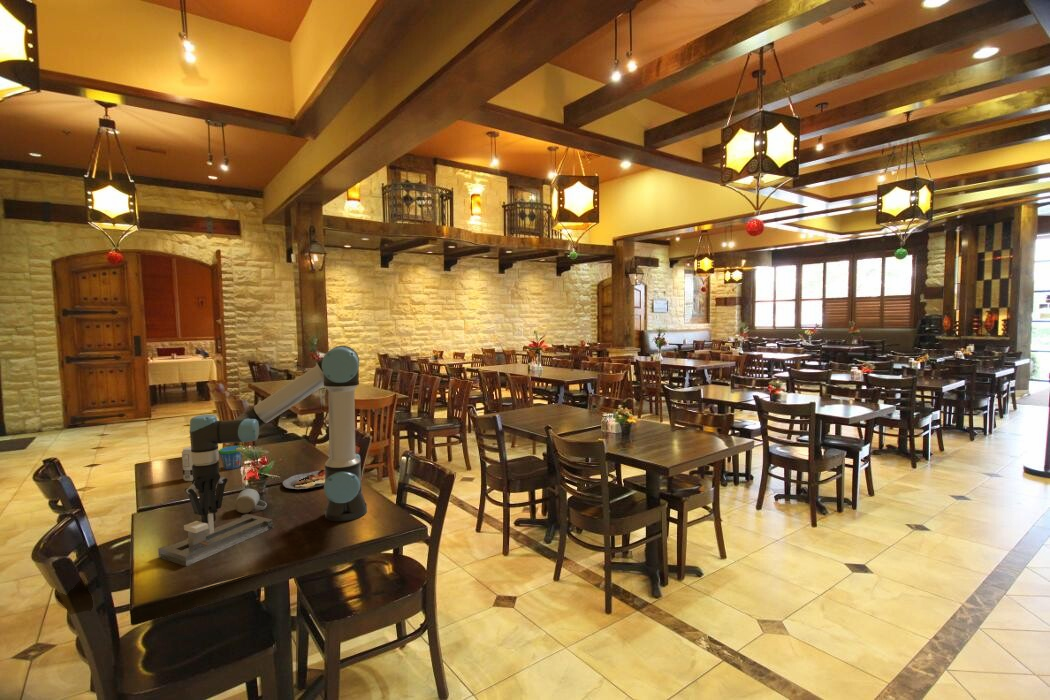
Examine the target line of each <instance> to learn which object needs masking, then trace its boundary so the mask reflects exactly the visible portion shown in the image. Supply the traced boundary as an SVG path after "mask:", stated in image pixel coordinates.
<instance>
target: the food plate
mask: <svg viewBox="0 0 1050 700" xmlns="http://www.w3.org/2000/svg"><path fill="white" fill-rule="evenodd" d="M307 476H309V479H306V480H305V479H304V480H301V479H303V478H305V477H307ZM299 480H301V481H299ZM313 481H315V482H313ZM306 483H307V484H306ZM324 483H325V469H320V470H315V471H309V472H303V473H299V474H294V475H292V476H290V477H288V478H286V479H285V480H283V481H282V485H283V487H285V488H286V489H295V490H298V491H300V490H301V489H302V490H304V489H306V490H307V489H313V488H314V489H315V488H317V487H323V486H324ZM302 484H303V485H302Z"/></svg>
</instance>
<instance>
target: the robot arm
mask: <svg viewBox="0 0 1050 700" xmlns="http://www.w3.org/2000/svg"><path fill="white" fill-rule="evenodd" d="M359 370H360V357H359V355H358V353H357V352H356V350H355V349H354V348H352V347H350V346H348V345H347V346H346V345H338V346H335V347H333V348H331V349H329V350H328V351H327V352H326V353H325V354H324V356H323V357H322V358H321V359H320V360H318V361H317V362H316V363H315V366H314V367H312V368H311V369H309V370H307V371H305V373H303V374H301V375H300V376H298V377H297V378H295V379H294V380H292V381H290V382H289V383H288V384H286V385H285V386H283V387H282V388H280V389H278V390H276V391H275V392H274V393H272V394H270V395H269V396H268V397H266V398H265V399H263V400H261V401H260V402H258V403H257V404H256V405H254V406H253V407H250V408H249V409H247V410H246V411H244V412H243V413H241V414H240V415H238V417H236V418H235V419H230V420H218V418H217V417H218V416H217V415H215V414H200V415H195V416H193V417H191V419H190V421H189V431H188V433H189V439H190V447H191V457H192V463H193V465H192V475H193V481H191V485H190V486H189V487H187V488H185V489H184V492H185V493H186V494H187V495H188V498H189V501H190V504H191V508H192V510H193V513H194V515H198V516H200V517H201V522H203V523H207V524H208V527H209V528H208V529H206V530H205V533H207V534H211V533H214V528H215V526H214V525H215V524H214V522H216V520H217V517H216V513H218V510H219V509H221V508H222V504H223V499H224V493H225V487H226V485H227V482H228V481H229V480H228V478H226V477H222V476H221V474H220V462H219V460H220V453H219V452H218V451H219V444H233V443H249V442H255V441H257V440H258V438H259V435H260V428H262V427H264V426H265V425H266V424H267V423H270V422H271V421H272V420H273V419H275V418H277V417H278V416H280V415H282V414H283V413H284V412H286V411H288V410H289V409H291V408H292V407H293V406H295V405H297V404H298V403H300V402H301V401H303V400H304V399H306V398H307V397H309V396H310V395H312V394H314V393H315V392H316V391H318V390H319V389H321V388H322V387H324V388H325V389H326V390H327V391H328V435H329V436H328V438H329V439H328V441H329V444H328V445H329V446H328V447H329V449H328V451H329V457H328V458H327V460H326V461H325V463H324V470H325V483H324V485H323V491H324V495H325V496H326V498H327V499H328V500H327V504H326V508H325V510H324V518H325V519H326V520H327V521H329V522H330V521H331V522H347V521H352V520H356V519H359V518H361V517H363V516H365V515H366V514H367V513H368V505H367V503H366V501H365V498H364V494H363V490H362V468H361V466H362V465H361V464H362V463H361V462H362V460H361V455H360V454H358V453H356V423H355V422H356V415H355V414H356V412H355V408H356V405H355V400H356V398H355V395H356V394H355V390H356V389H357V388H358V386H359V385H360V371H359ZM197 493H198V495H197Z"/></svg>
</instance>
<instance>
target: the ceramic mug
mask: <svg viewBox="0 0 1050 700" xmlns="http://www.w3.org/2000/svg"><path fill="white" fill-rule="evenodd" d="M258 504H259V505H258ZM267 506H268V504H267V502H266V501H264V500H262V499H260V494H259V492H258V491H257V490H256V489H253V488H245V489H243V490H241V491H240V493H239V494H238V496H237V498H236V500H235V503H234V508H235V510H236V511H237V513H240V514H249V513H251V512H252V511H253V510H258V511H263V510H265V509H266V508H267Z"/></svg>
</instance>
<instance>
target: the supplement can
mask: <svg viewBox="0 0 1050 700" xmlns="http://www.w3.org/2000/svg"><path fill="white" fill-rule="evenodd" d="M181 460H182V461H181V463H182V477H183V479H182V480H183V481H185V482H192V481H193V475H192V465H193V463H192V457H191V446H187V447H184V448H183V449H182V451H181Z"/></svg>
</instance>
